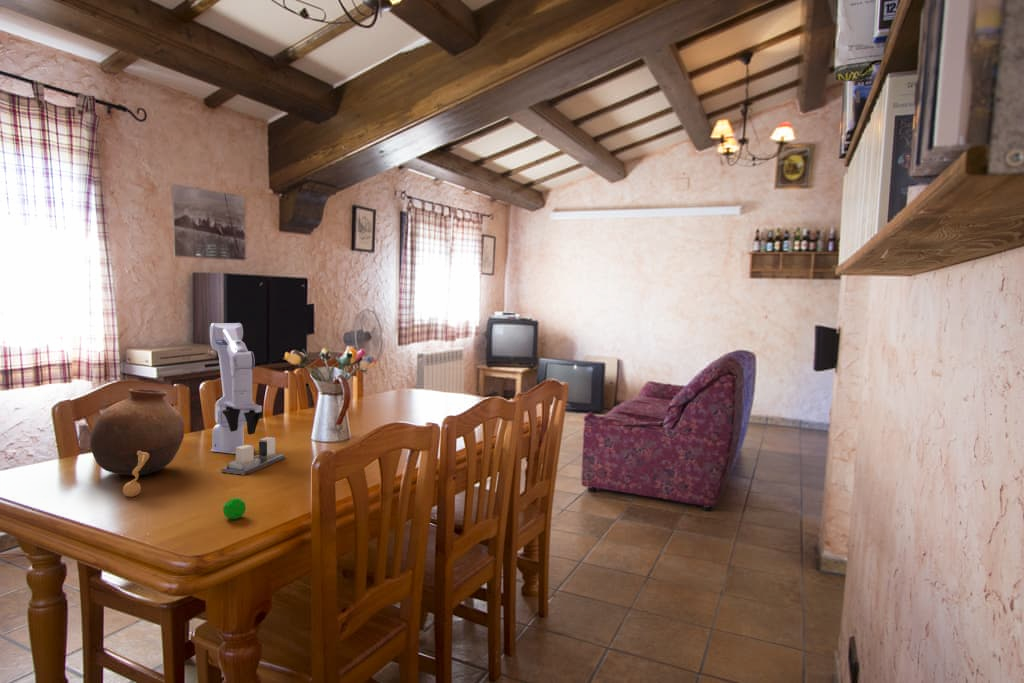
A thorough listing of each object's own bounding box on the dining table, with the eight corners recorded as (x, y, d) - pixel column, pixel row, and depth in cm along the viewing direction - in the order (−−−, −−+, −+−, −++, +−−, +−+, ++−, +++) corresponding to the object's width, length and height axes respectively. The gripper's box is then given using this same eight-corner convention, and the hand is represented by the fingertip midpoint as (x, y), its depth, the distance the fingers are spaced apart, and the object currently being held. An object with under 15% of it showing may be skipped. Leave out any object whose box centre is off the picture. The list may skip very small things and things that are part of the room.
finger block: (235, 466, 182) (235, 447, 182) (248, 463, 186) (248, 444, 185) (242, 468, 181) (242, 448, 180) (254, 464, 184) (254, 445, 184)
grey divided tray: (221, 472, 179) (221, 449, 179) (264, 455, 198) (264, 434, 198) (244, 475, 177) (244, 452, 177) (285, 457, 197) (285, 436, 196)
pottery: (73, 483, 165) (70, 394, 163) (129, 460, 188) (127, 381, 186) (154, 487, 165) (153, 397, 163) (200, 463, 188) (199, 384, 186)
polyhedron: (235, 523, 141) (235, 503, 141) (218, 520, 143) (218, 501, 142) (250, 516, 146) (250, 496, 146) (233, 513, 147) (233, 494, 147)
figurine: (124, 492, 160) (123, 448, 159) (150, 489, 162) (150, 446, 161) (121, 502, 152) (120, 456, 151) (149, 499, 155) (148, 453, 154)
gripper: (269, 390, 190) (269, 432, 191) (236, 386, 196) (236, 427, 197) (251, 393, 184) (251, 437, 185) (217, 389, 189) (218, 431, 191)
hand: (242, 432), depth 190 cm, fingers open, 7 cm apart
